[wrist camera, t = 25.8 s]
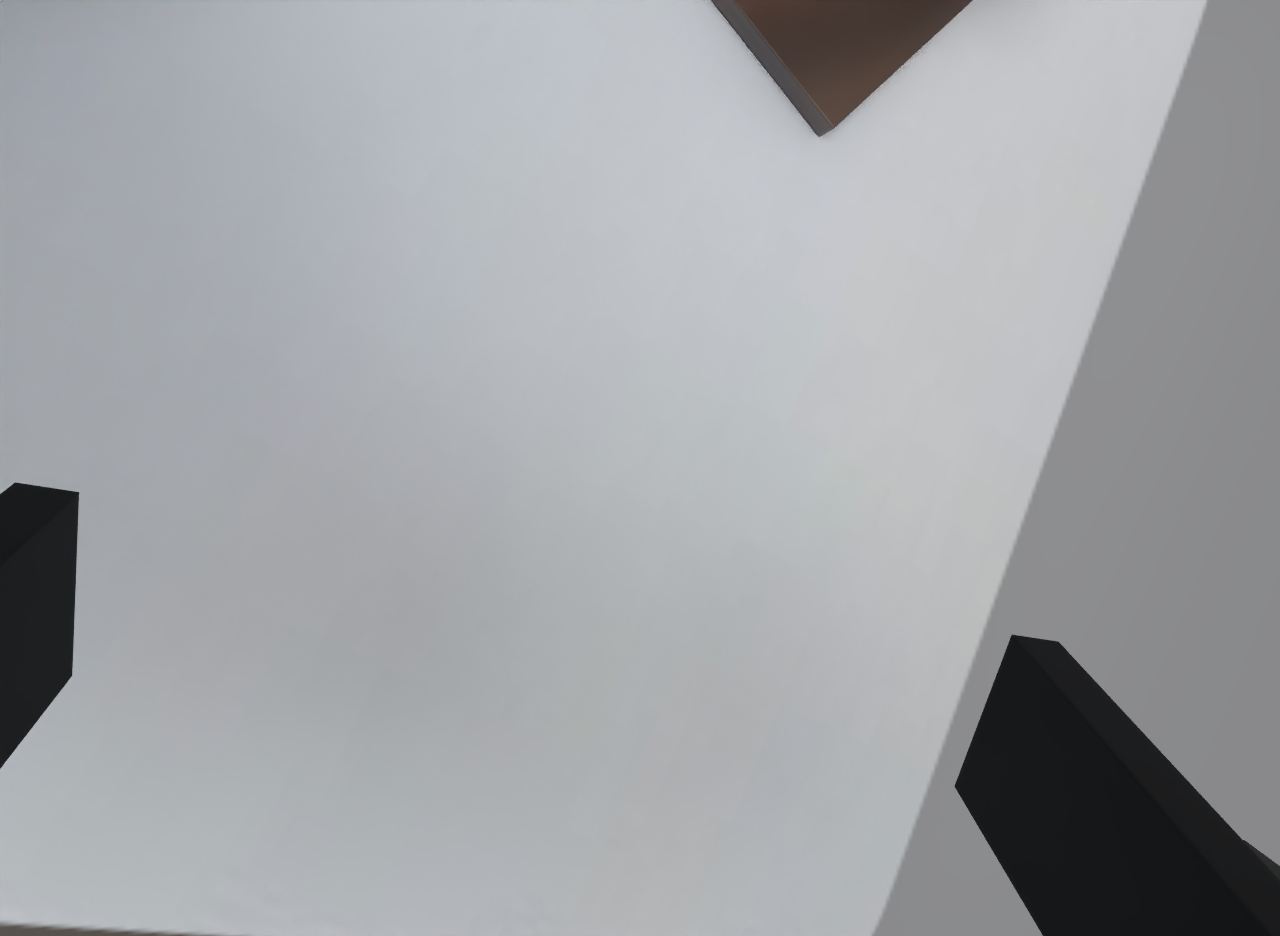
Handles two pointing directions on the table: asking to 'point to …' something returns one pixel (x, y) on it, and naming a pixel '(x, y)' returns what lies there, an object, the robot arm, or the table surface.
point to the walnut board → (835, 46)
